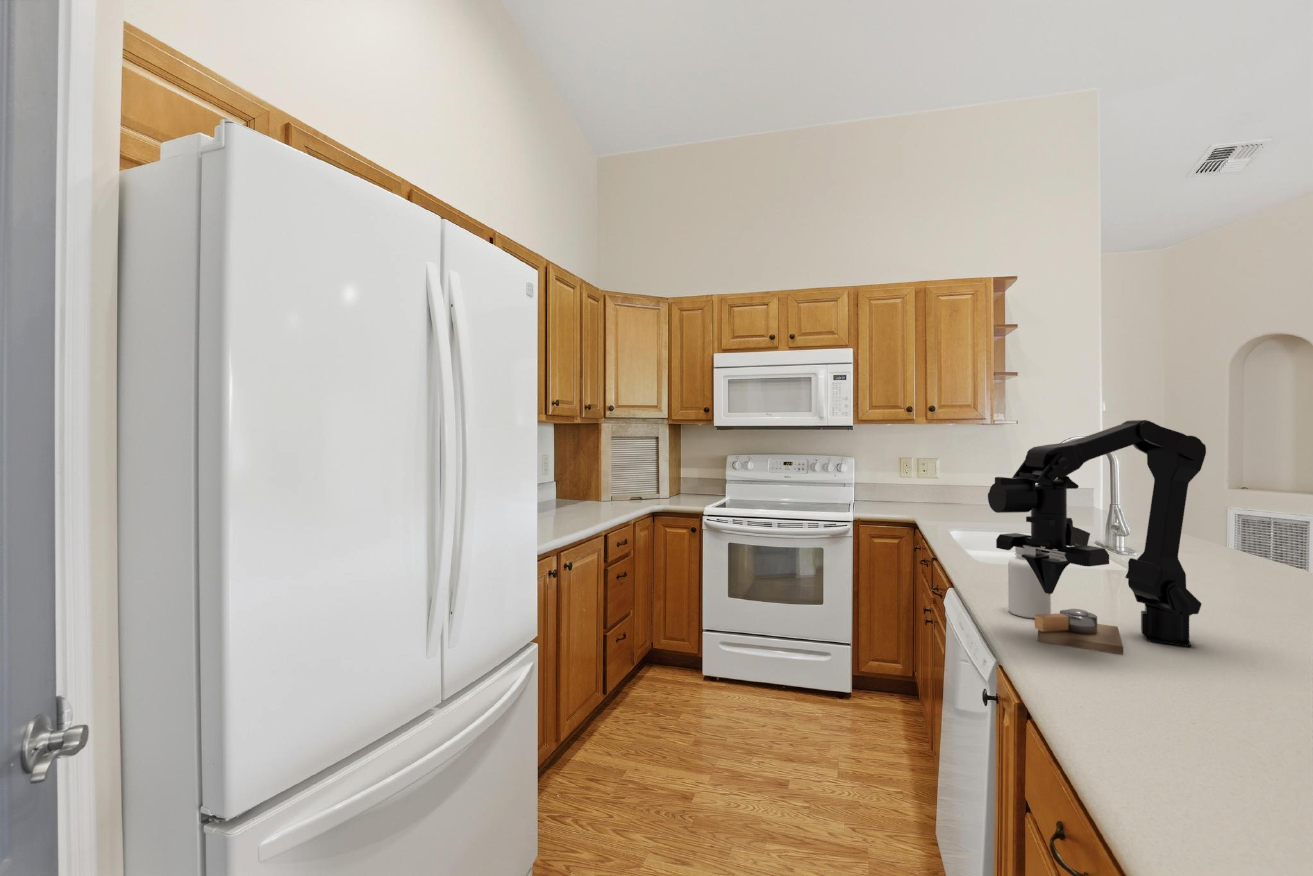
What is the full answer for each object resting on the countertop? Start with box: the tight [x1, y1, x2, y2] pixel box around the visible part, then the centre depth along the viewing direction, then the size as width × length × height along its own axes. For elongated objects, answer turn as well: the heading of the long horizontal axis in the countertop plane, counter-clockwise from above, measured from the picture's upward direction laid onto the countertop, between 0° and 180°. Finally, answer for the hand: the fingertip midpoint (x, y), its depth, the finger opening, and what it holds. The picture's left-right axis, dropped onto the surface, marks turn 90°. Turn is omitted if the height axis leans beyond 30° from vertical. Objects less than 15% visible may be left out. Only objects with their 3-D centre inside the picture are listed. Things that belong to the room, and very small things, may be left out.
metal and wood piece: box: [1034, 608, 1098, 634], centre depth 115 cm, size 12×6×3 cm, turn 97°
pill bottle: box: [1007, 547, 1052, 619], centre depth 131 cm, size 8×8×15 cm
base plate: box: [1037, 623, 1124, 656], centre depth 116 cm, size 13×13×2 cm
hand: (1048, 593), depth 113 cm, fingers closed
